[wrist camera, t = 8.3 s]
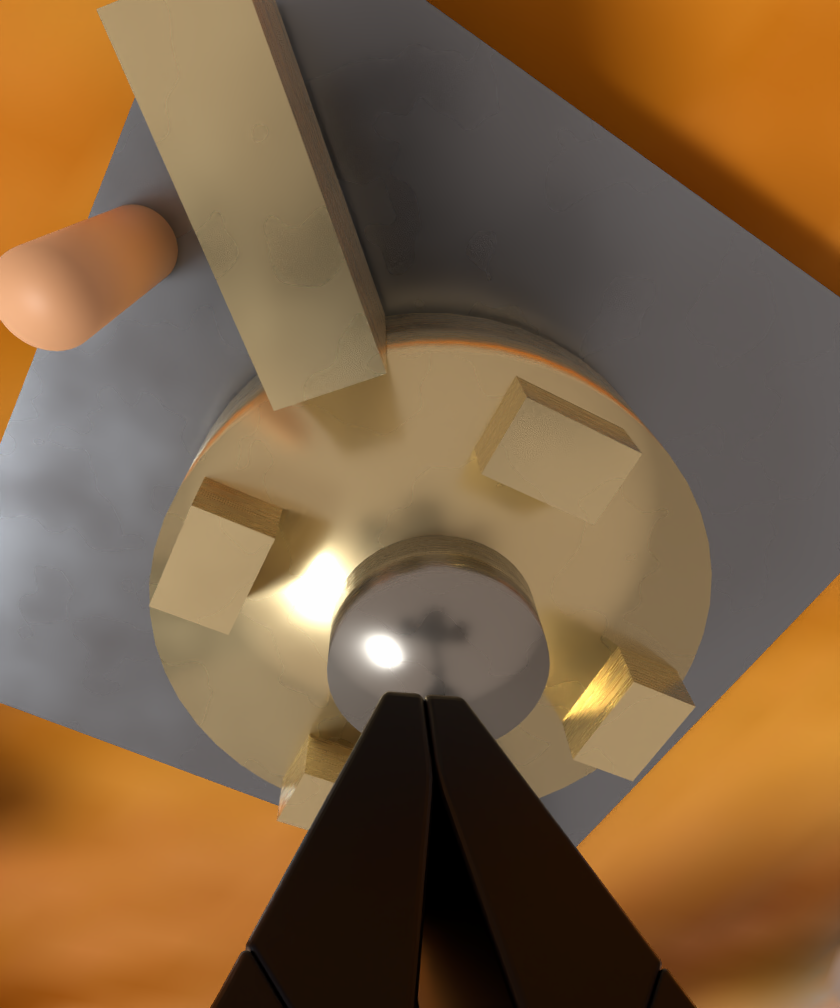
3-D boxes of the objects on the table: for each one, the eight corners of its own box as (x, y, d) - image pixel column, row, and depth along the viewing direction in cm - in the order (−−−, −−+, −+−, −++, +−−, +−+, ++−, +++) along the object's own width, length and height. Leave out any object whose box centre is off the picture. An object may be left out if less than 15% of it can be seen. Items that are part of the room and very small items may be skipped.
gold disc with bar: (699, 666, 21) (774, 797, 17) (294, 778, 23) (275, 926, 19) (543, -110, 13) (614, -205, 9) (-70, 130, 15) (-243, 138, 11)
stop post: (200, 224, 17) (116, 279, 12) (171, 289, 18) (78, 369, 12) (130, 184, 16) (9, 221, 11) (102, 251, 17) (-25, 317, 12)
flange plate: (968, 396, 20) (996, 410, 19) (522, 871, 27) (527, 897, 26) (237, -127, 14) (227, -142, 13) (-69, 646, 22) (-88, 670, 21)
